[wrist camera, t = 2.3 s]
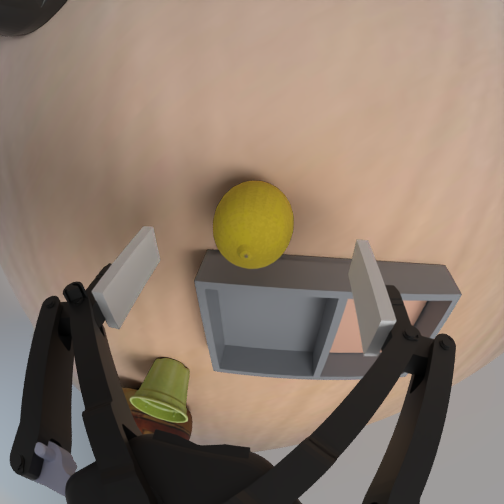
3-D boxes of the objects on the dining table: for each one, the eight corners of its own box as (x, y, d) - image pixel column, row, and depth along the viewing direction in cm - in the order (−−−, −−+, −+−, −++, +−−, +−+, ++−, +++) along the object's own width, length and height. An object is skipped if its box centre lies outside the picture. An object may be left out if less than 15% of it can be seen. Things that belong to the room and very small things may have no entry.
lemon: (286, 232, 24) (283, 297, 17) (224, 221, 24) (199, 282, 18) (299, 173, 21) (303, 223, 14) (229, 162, 21) (199, 206, 14)
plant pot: (203, 362, 39) (190, 412, 32) (196, 385, 44) (185, 427, 37) (145, 343, 38) (126, 390, 31) (147, 369, 44) (132, 409, 37)
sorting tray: (207, 249, 26) (194, 280, 22) (445, 265, 24) (461, 294, 20) (220, 342, 35) (213, 370, 31) (399, 349, 32) (405, 376, 29)
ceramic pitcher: (171, 418, 61) (146, 512, 37) (105, 382, 54) (67, 483, 30) (214, 410, 51) (188, 532, 27) (132, 367, 45) (84, 504, 21)
